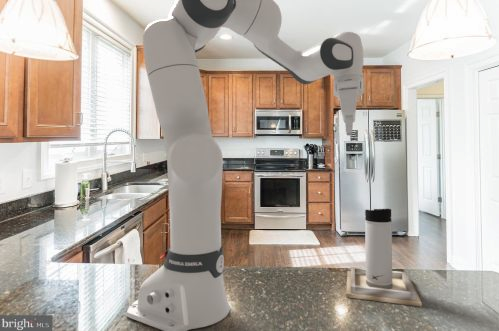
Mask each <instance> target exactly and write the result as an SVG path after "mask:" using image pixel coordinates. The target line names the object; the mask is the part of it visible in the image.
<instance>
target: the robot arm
mask: <svg viewBox="0 0 499 331" xmlns="http://www.w3.org/2000/svg"><path fill="white" fill-rule="evenodd" d="M221 28H225V29H229V30H231V31H232V32H234V33H235V34H237V35H239V36H241V37H243V38H244V39H246V40H247V41H249V42H251V43H252V44H253V46H254V48H256V50H257V51H259V52H260V53H261V54H262V55H264V56H265V57H267V58H268V59H269V60H271V61H273V62H274V63H276V64H278V66H280V67H281V68H283V69H284V70H285V71H287V72H289V74H290V75H291V76H292V77H293V78H294V80H296V81H297V82H298V83H300V84H302V85H311V84H312V83H314V82H316V81H318V80H320V79H323V78H324V77H327V76H330V75H331V76H333V82H332V83H333V97H335V98H337V101H338V102H339V105H340V110H341V111H340V112H341V116H342V120H343V122H344V124H345V133H346V136H347V137H349V136H353V128H354V127H353V124H354V123H355V122H356V111H357V102H358V101H359V100H361V99H360V98H361V97H360V96H361V95H363V94H364V93H365V78H364V77H365V76H364V75H365V74H364V72H363V67H364V49H363V48H364V47H363V43H362V39H361V37H360V35H359V34H358V33H355V32H352V31H344V32H341V33H339V34H337V35H336V36H335V37H329V38H326V39H323V40H321V41H319V42H318V43H316V44H314V45H313V46H311V47H309V48H307V49H305V50H296V49H294V48H293V47H292V46H290V45H289V44H288V43H287V42H285V41H283V40H282V39H280V37H279V33H280V31H281V28H282V13H281V8H280V6H279V5H278V3H276V1H274V0H174V2H173V4H172V7H171V9H170V12H169V14H168V17H167V19H159V20H155V21H153V22H151V23H149V24H148V25H147V26H146V28H144V31H143V34H142V46H143V47H142V48H143V49H142V50H143V60H144V64H145V69H146V76H147V79H148V82H149V87H150V91H151V95H152V100H153V103H154V108H155V112H156V115H157V119H158V123H159V126H160V130H161V133H162V136H163V141H164V145H165V148H166V152H167V158H166V161H167V164H166V166H167V185H168V187H167V188H168V204H169V206H168V207H169V231H170V232H169V233H170V234H169V235H170V237H169V238H170V241H169V242H170V243H169V244H170V247H169V248H167V249H166V250H165V251H163V252H162V253H159V256H160V257H159V259H160V260H162V259H164V258H165V260H164V262H163V265H162V266H161V267H159V268H158V269H156V271H154V272H153V273H152V274H150V276H149V277H147V278H145V280H144V281H143V282H142V283H141V285H140V287H139V291H138V296H137V300H135V301H134V302H133V303H132V304H131V305H129V307H127V311H126V317H127V318H129V319H132V320H135V321H137V322H140V323H143V324H145V325H147V326H150V327H153V328H155V329H158V330H161V331H189V330H192V329H193V330H194V329H199V328H205V327H208V326H211V325H214V324H217V323H219V322H221V321H222V320H223V319H225V318H226V317H227V316H228V314H229V313H230V309H231V306H230V304H229V300H228V297H227V294H226V288H225V281H224V267H225V260H224V259H225V258H224V246H223V245H222V228H221V227H222V220H221V213H222V212H221V210H222V208H221V207H222V197H223V196H222V195H223V168H224V166H223V164H224V161H223V160H224V158H223V152H222V150H221V149H222V148H221V146H220V145H219V144H218V143H217V141H216V140H214V138H213V132H212V129H211V122H210V116H209V109H208V102H207V97H206V93H205V91H204V90H205V89H204V85H203V82H202V81H203V80H202V77H201V72H200V68H199V64H198V61H197V57H196V53H198V52H200V51H201V50H202V49H204V48H205V47H206V45H207V44H208V43H209V42H210V41H211V40H212V39H214V38H215V37H216V35H217V34H219V31H220V30H221Z"/></svg>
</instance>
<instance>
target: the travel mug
mask: <svg viewBox="0 0 499 331" xmlns="http://www.w3.org/2000/svg"><path fill="white" fill-rule="evenodd" d="M364 216H365V217H364V218H365V219H364V227H365V229H364V230H365V231H364V232H365V235H364V236H365V238H364V239H365V240H364V241H365V242H364V243H365V246H364V247H365V268H366V284H367V285H368V286H370V287H375V288H384V289H390V288H392V286H393V282H392V271H393V231H392V230H393V228H392V227H393V226H392V225H393V224H392V209H391V208H373V209H365V211H364Z"/></svg>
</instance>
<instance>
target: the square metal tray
mask: <svg viewBox="0 0 499 331" xmlns="http://www.w3.org/2000/svg"><path fill="white" fill-rule="evenodd" d="M346 276H347V277H346V292H345V295H346V296H345V298H350V299H359V300H366V301H367V300H368V301H375V302H382V303H391V304H399V305H406V306H412V307H413V306H414V307H415V306H416V307H421V308H422V305H423V303H422V301H421V299H420V296H419V294H418V293H417V290H416V289H415V286H414V285H413V282H412V280H411V278H410V276H408V275H407V272H406V271H396V270H392V282H393V286H392V288H390V289H384V288H375V287H370V286H368V285H367V284H366V267H365V268H363V267H352V266H351V267H350V270H347V274H346Z"/></svg>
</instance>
